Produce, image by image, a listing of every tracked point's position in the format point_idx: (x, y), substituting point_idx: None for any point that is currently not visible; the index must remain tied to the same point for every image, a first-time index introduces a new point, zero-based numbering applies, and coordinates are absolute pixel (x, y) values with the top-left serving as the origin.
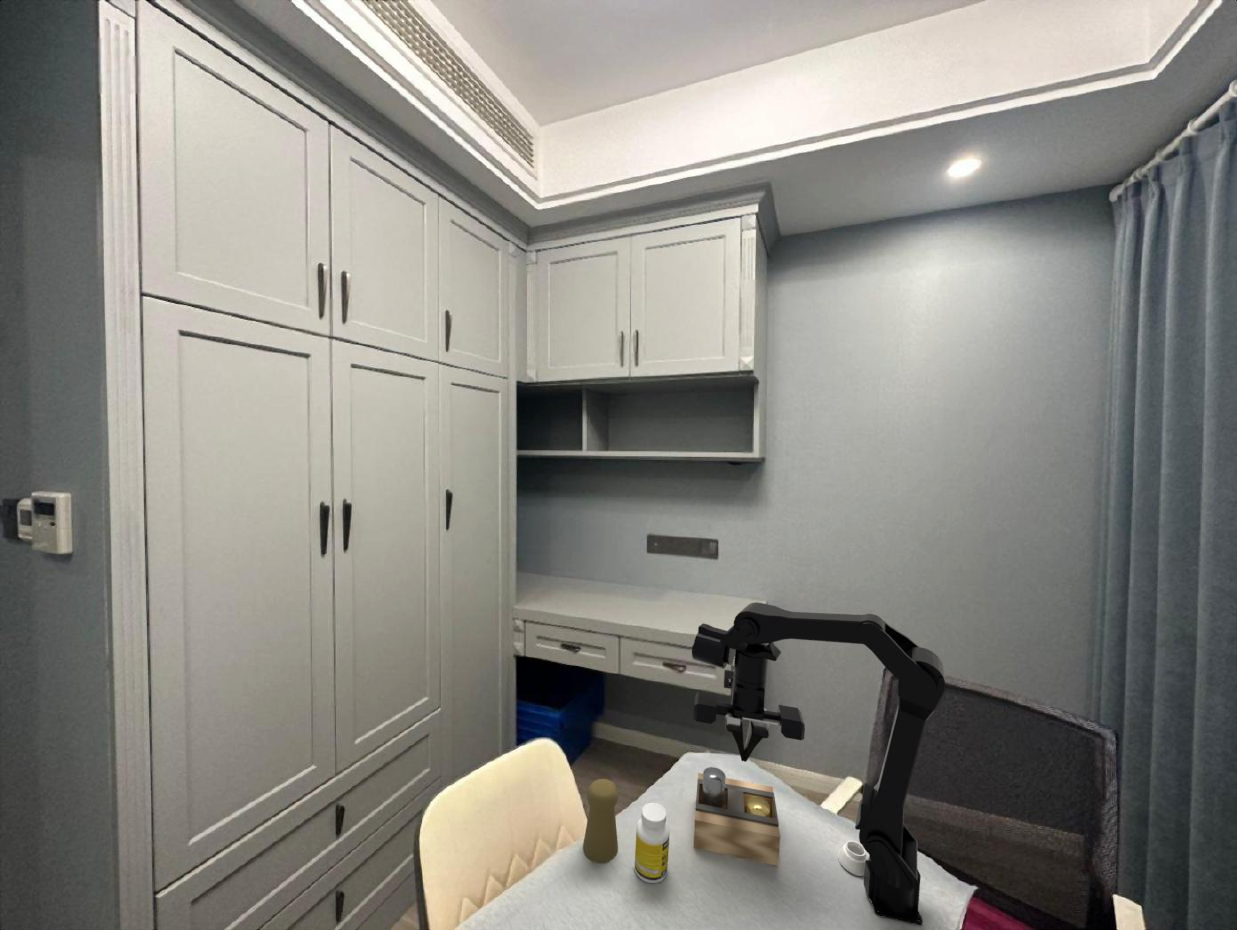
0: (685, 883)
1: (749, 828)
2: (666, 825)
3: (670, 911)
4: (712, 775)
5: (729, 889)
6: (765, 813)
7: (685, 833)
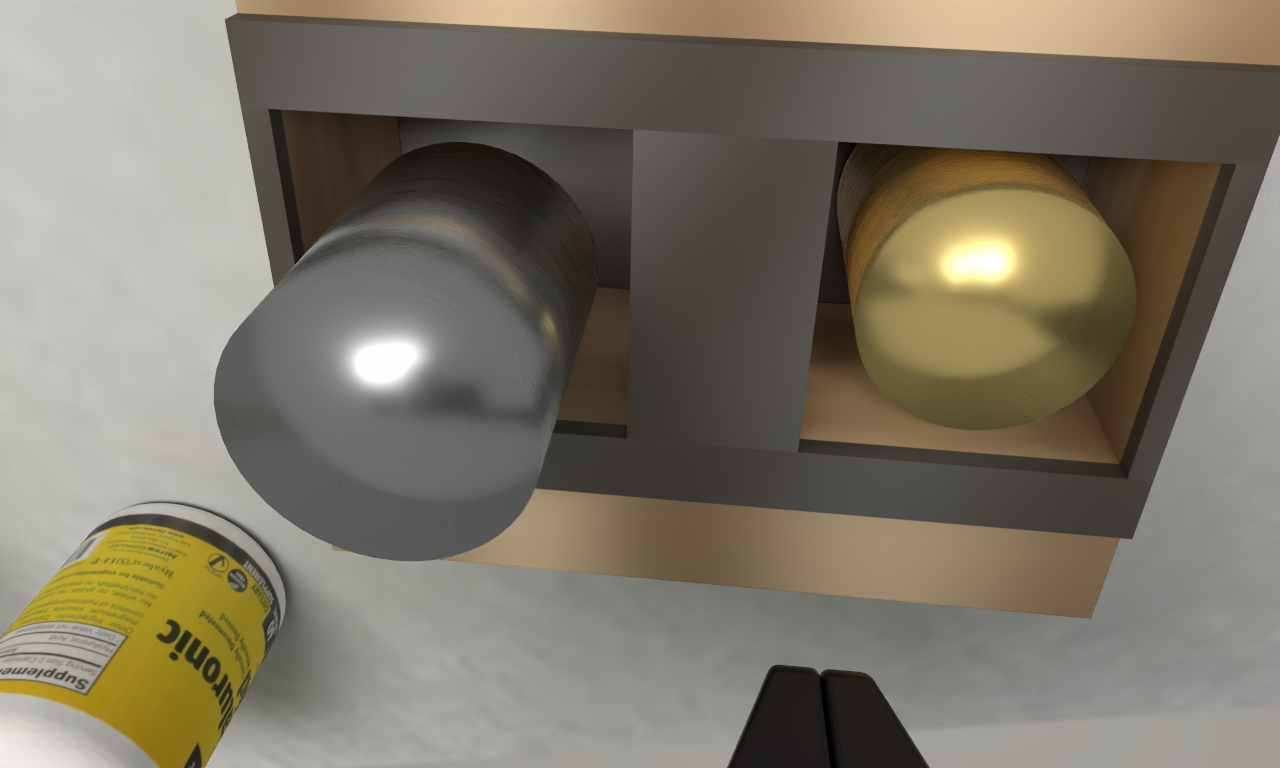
0: (404, 620)
1: (819, 573)
2: None
3: (360, 739)
4: (352, 452)
5: (658, 625)
6: (1037, 418)
7: None
